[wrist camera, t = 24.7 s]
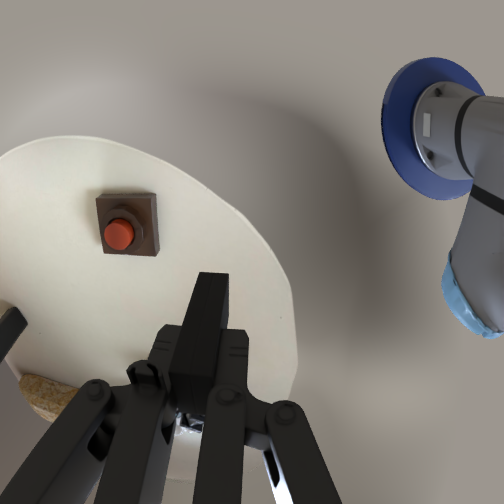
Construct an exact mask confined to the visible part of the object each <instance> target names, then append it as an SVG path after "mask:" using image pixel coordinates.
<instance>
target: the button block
mask: <svg viewBox="0 0 504 504" xmlns="http://www.w3.org/2000/svg"><path fill="white" fill-rule="evenodd" d="M96 206H97V213H98V221H99V228H100V235H101V240H102V246H103V252H104V253H105V254H121V255H137V256H154V257H156V256H157V254H158V252H159V251H160V246H159V234H158V221H157V204H156V194H102V195H100V196H99V197H97V198H96ZM115 219H124V220H126V221H128V222H129V223H130V224H131V226H132V227H133V230H134V237H133V240H132V241H131V242H130V244H129V245H128V246H127V247H126V248H125V249H122V250H117V249H114V248H112V247H111V246H109V245H108V243H107V242H106V240H105V236H104V233H105V229H106V227H107V226H108V225H109V224H110V223H111V222H112V221H114V220H115Z"/></svg>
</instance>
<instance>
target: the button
mask: <svg viewBox="0 0 504 504" xmlns="http://www.w3.org/2000/svg"><path fill="white" fill-rule="evenodd" d="M104 236H105V240H106V242H107V243H108V245H109V246H111V247H112V248H114V249H117V250H122V249H125V248H126V247H127V246H128V245H129V244H130V242H131V241H132V240H133V237H134V230H133V227H132V226H131V224H130V223H129V222H128V221H126V220H124V219H115V220H114V221H112V222H111V223H110V224H109V225H108V226H107V227H106V229H105V233H104Z"/></svg>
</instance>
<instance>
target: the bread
mask: <svg viewBox="0 0 504 504" xmlns="http://www.w3.org/2000/svg"><path fill="white" fill-rule="evenodd" d="M19 387H20V391H21V392H22V394H23V396H24V397H25V399H26V400H27V401H28V403H29V404H30V405H31V407H32V408H33V409H34V410H35V412H36V413H38V414H39V415H40V416H41V417H43V418H44V419H46V420H48V421H51V422H54V421H55V420H56V418H57V417H58V416H59V415H60V413H61V412H62V411H63V409H64V408H65V407H66V406H67V404H68V403H69V402H70V401H71V399H72V398H73V397H74V396H75V394H76V393H77V392H78V391H79V389H77V388H74V387H71V386H67V385H64V384H61V383H58V382H55V381H52V380H49V379H46V378H44V377H41V376H38V375H30V374H27V375H23V376H22V378H21V379H20V381H19Z"/></svg>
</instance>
